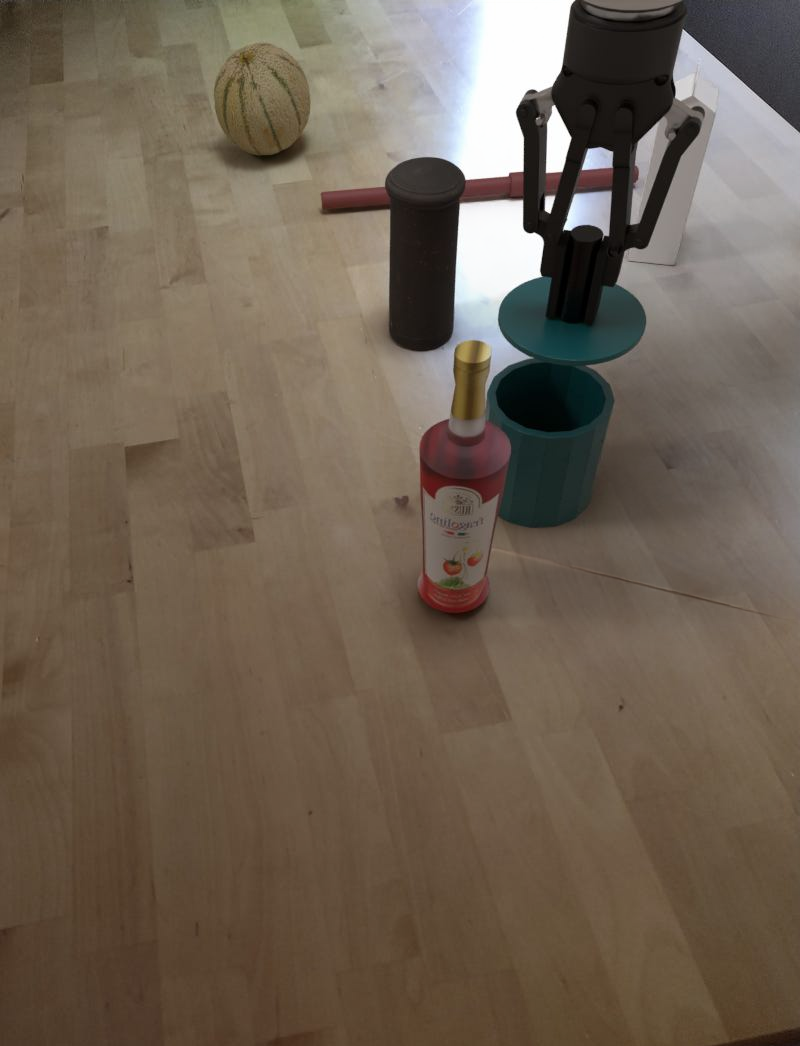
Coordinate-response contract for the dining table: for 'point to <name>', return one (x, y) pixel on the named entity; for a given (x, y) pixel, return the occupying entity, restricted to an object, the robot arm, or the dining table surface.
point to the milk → (677, 174)
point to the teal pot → (549, 438)
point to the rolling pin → (470, 188)
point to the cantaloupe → (262, 99)
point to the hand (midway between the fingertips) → (572, 311)
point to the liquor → (461, 489)
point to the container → (423, 250)
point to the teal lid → (573, 312)
